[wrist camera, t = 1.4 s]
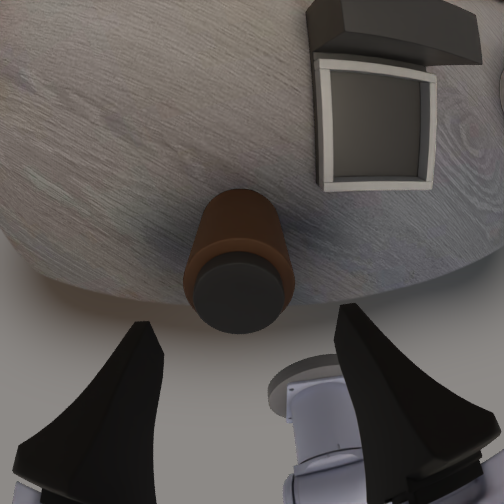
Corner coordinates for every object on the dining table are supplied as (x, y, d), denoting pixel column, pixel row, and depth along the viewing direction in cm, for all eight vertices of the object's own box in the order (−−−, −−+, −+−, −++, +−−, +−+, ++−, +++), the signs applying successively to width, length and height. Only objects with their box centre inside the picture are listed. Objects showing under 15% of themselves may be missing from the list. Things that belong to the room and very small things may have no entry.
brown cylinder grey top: (280, 256, 21) (297, 338, 14) (207, 262, 21) (192, 345, 14) (277, 185, 18) (299, 244, 11) (195, 192, 18) (166, 255, 11)
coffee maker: (417, 181, 18) (472, 217, 12) (315, 182, 18) (347, 224, 12) (415, 28, 12) (476, 14, 7) (305, 11, 13) (335, -28, 7)
